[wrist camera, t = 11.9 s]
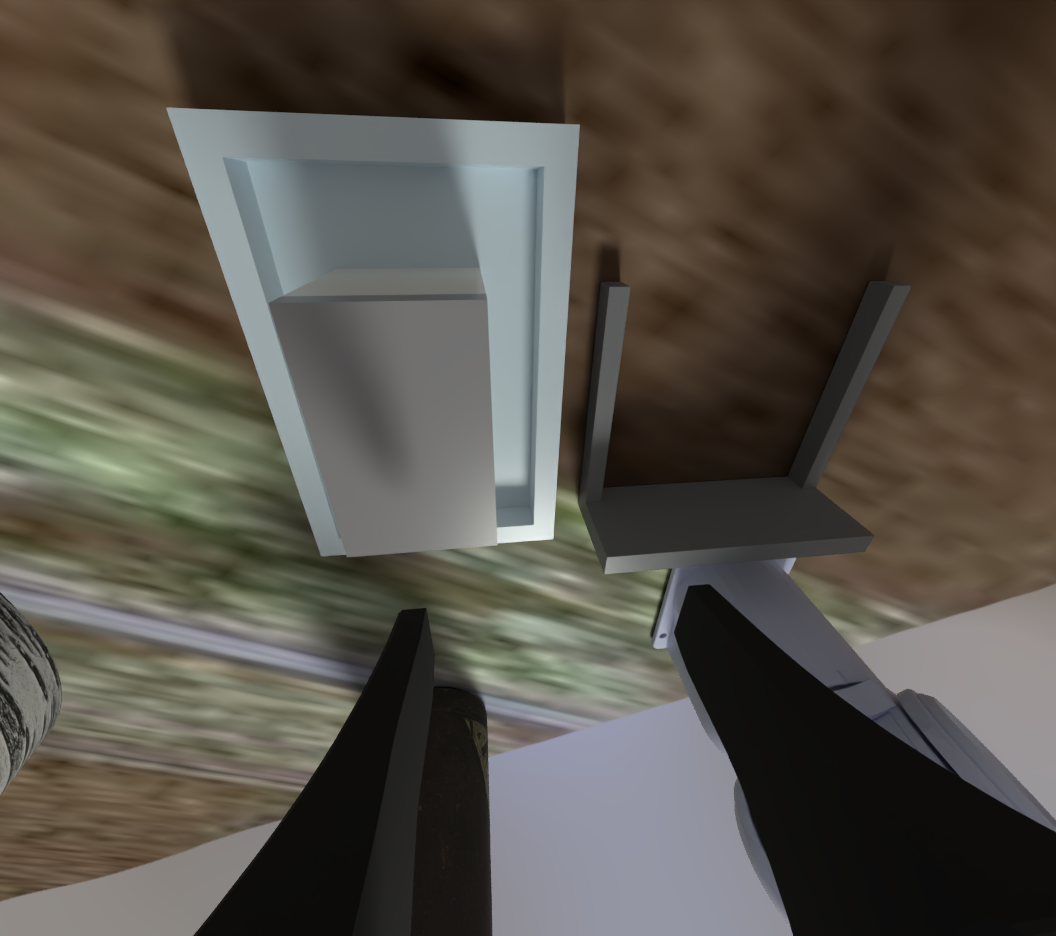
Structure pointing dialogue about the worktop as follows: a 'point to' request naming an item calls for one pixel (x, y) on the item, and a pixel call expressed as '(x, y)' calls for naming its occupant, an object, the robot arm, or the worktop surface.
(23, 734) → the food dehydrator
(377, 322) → the block
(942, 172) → the worktop surface
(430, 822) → the container
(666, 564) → the bay
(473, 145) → the tray
